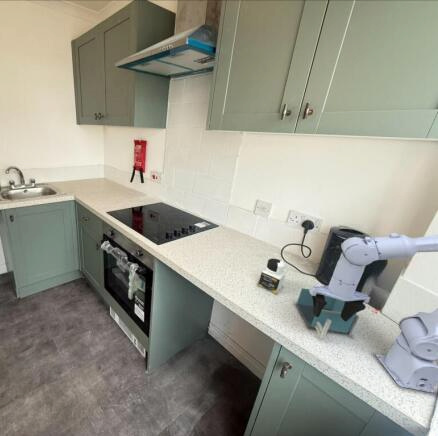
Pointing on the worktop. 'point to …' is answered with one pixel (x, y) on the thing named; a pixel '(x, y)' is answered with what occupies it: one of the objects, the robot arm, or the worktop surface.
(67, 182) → the worktop surface
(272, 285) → the medicine bottle
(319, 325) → the teal shelf
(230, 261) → the worktop surface
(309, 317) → the teal open box
